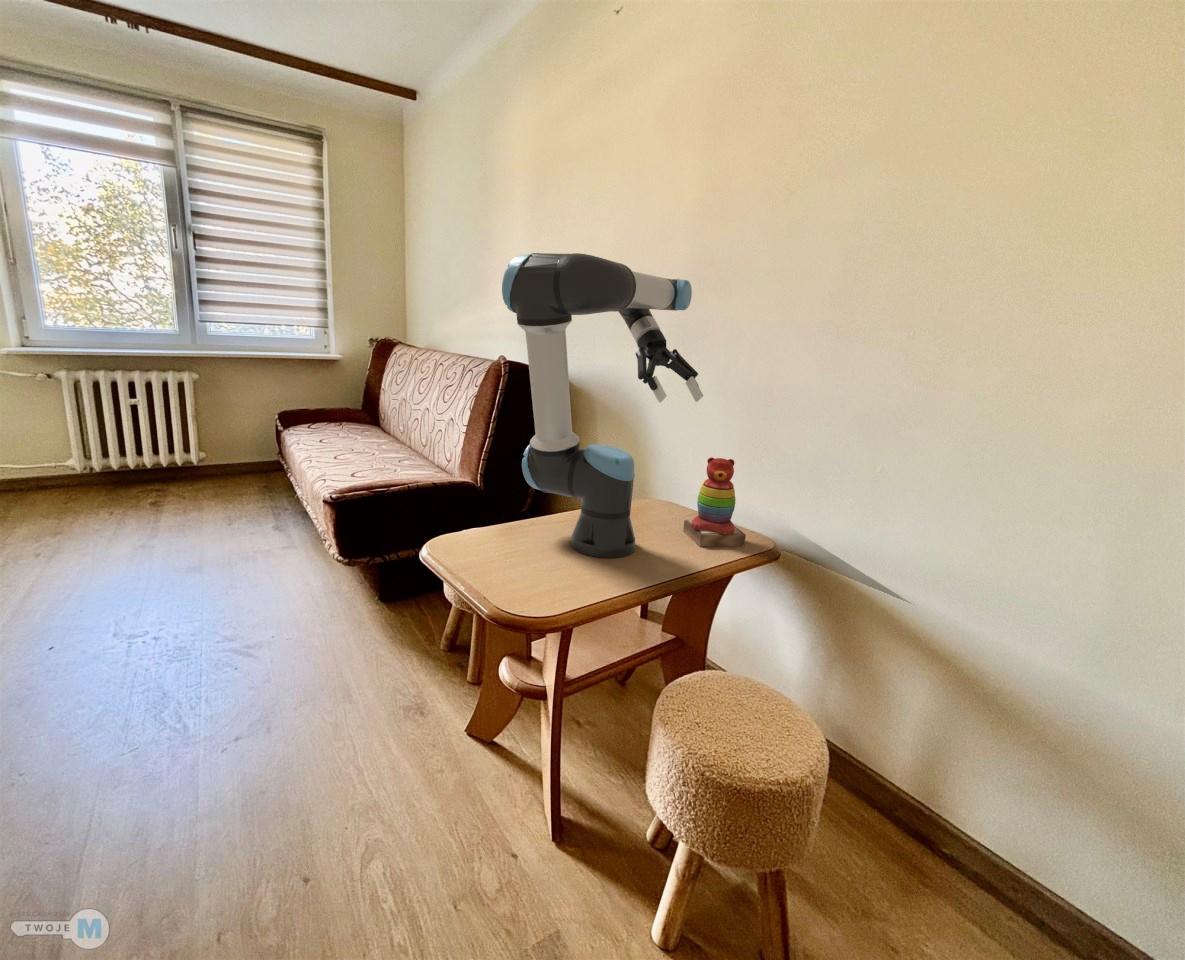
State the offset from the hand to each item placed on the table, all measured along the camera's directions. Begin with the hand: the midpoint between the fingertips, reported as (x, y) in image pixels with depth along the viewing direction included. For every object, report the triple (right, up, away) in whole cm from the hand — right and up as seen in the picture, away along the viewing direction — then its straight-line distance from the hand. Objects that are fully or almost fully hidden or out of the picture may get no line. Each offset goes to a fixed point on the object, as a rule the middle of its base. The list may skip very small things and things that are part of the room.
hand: (681, 399), depth 143 cm
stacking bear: (+7, -33, -4) cm, 34 cm away
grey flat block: (+7, -36, -3) cm, 37 cm away
